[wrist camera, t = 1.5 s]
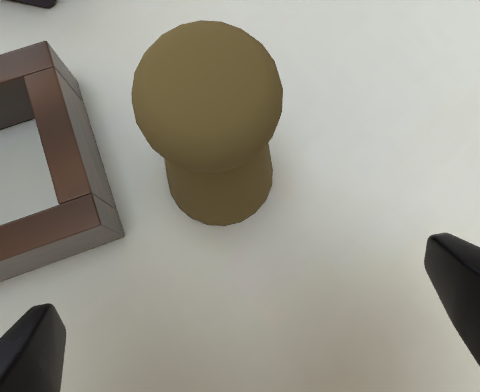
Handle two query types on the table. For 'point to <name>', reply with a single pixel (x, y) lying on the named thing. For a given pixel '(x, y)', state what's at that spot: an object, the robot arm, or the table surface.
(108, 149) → the table surface
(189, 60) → the olive game pawn
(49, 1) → the calculator
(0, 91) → the hole block
